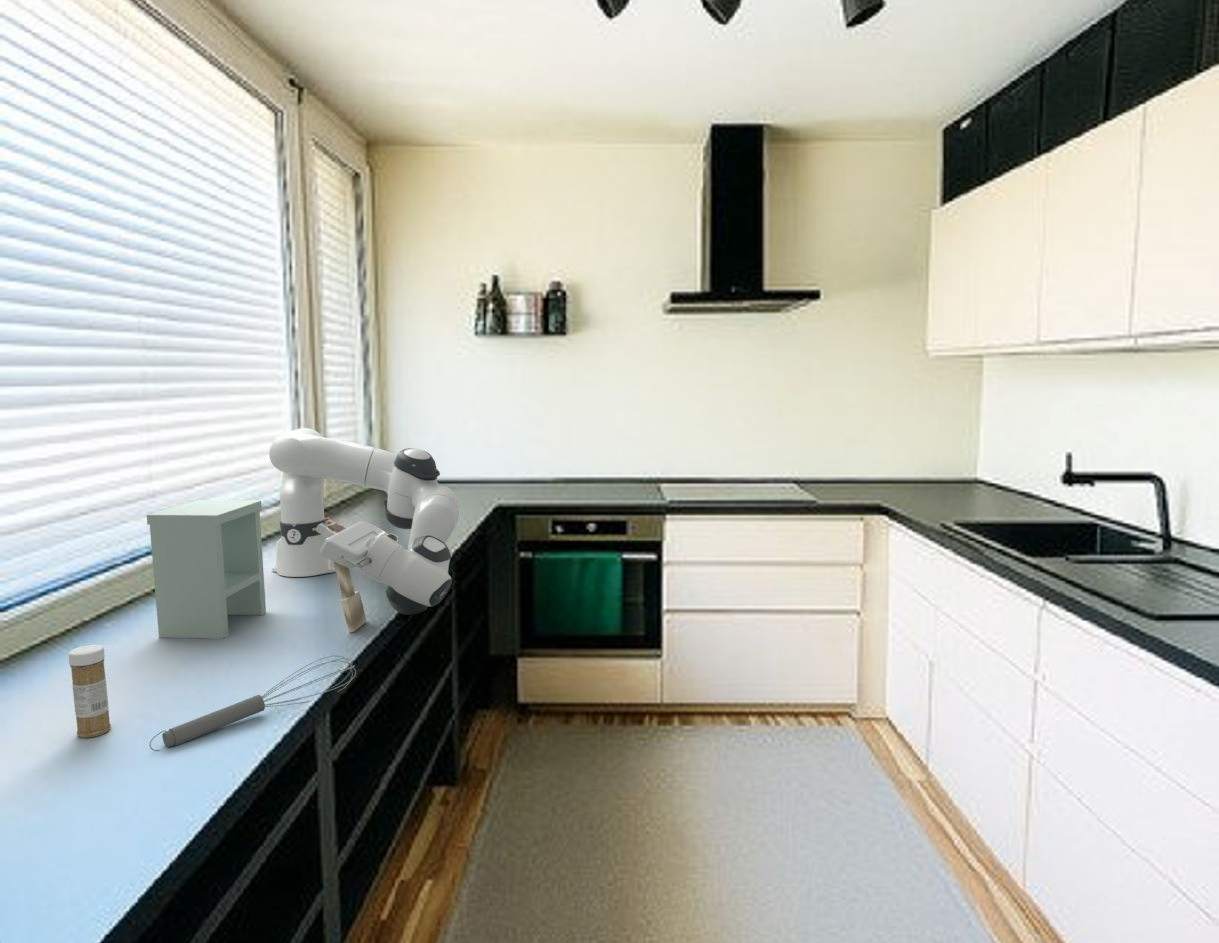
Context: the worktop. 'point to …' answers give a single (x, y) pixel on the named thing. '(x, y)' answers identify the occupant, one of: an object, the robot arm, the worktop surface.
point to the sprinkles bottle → (89, 690)
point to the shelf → (206, 566)
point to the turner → (349, 594)
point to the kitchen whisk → (234, 712)
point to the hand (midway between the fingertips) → (322, 524)
